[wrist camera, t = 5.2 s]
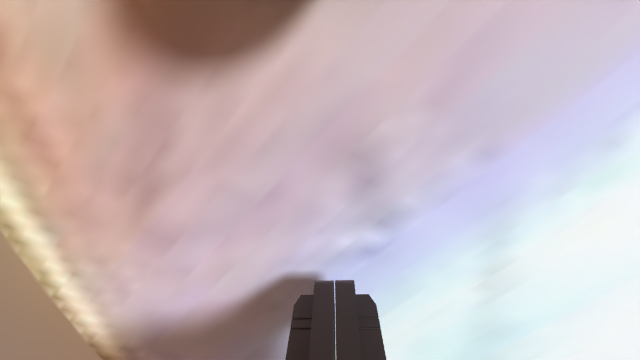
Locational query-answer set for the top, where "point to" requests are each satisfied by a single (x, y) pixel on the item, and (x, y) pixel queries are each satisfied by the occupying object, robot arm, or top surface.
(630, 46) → the top surface
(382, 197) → the top surface
